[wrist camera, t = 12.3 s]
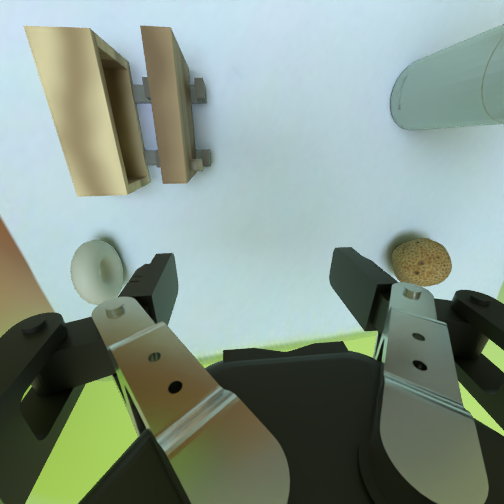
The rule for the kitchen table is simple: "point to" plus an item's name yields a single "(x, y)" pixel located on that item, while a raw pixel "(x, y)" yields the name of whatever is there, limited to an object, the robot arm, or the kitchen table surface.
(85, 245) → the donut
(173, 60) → the door
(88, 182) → the cabinet
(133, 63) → the kitchen table surface
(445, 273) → the brown potato
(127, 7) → the kitchen table surface
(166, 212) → the kitchen table surface
